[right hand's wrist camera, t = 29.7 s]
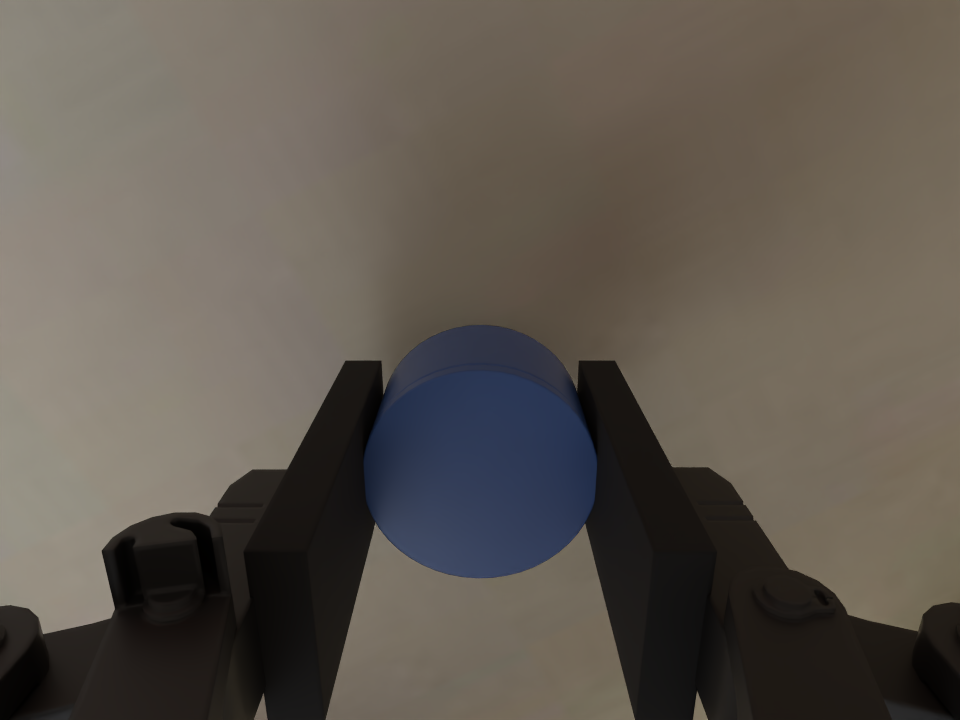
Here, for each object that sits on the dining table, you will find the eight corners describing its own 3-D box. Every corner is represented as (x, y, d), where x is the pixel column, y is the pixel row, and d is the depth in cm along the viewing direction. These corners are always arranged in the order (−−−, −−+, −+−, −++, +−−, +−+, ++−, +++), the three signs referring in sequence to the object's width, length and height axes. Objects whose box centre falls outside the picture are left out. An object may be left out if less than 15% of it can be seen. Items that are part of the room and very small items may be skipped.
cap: (522, 287, 13) (531, 327, 11) (612, 453, 15) (638, 521, 12) (344, 381, 14) (314, 438, 12) (444, 531, 15) (436, 611, 13)
